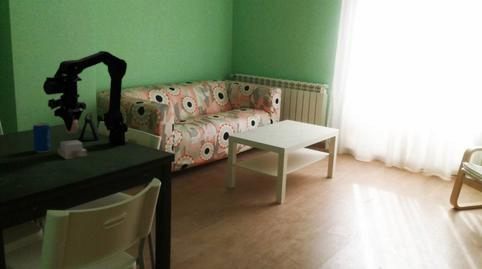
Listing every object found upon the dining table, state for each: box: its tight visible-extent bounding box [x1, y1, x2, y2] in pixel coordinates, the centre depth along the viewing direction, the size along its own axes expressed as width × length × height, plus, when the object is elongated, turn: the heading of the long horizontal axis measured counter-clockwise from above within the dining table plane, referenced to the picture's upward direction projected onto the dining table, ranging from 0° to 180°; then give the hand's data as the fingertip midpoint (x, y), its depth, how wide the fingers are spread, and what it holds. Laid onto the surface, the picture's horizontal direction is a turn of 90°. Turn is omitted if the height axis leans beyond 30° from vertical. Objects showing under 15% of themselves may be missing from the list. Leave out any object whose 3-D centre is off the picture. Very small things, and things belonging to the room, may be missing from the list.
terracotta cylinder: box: [64, 119, 79, 134], centre depth 186 cm, size 5×5×5 cm
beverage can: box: [32, 122, 52, 154], centre depth 190 cm, size 6×6×12 cm
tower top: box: [59, 139, 83, 152], centre depth 188 cm, size 7×7×3 cm
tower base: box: [56, 147, 88, 160], centre depth 189 cm, size 9×9×3 cm
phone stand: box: [78, 113, 100, 142], centre depth 213 cm, size 9×6×12 cm, turn 103°
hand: (71, 129), depth 186 cm, fingers closed on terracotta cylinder, 5 cm apart
